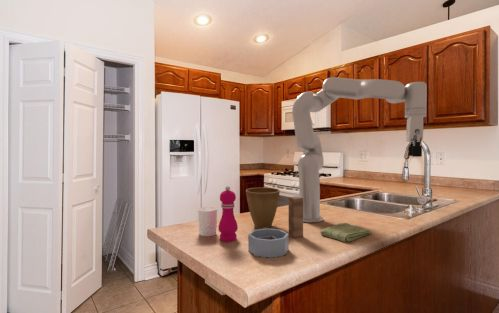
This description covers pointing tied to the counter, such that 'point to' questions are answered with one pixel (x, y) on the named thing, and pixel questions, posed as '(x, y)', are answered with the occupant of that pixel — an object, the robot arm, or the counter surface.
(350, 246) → the counter surface
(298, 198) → the brown wooden block
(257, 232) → the grey pet bowl
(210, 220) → the white cup
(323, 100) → the robot arm
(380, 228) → the counter surface
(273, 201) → the plant pot
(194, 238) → the counter surface
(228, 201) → the pepper mill
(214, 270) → the counter surface
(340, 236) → the washcloth
